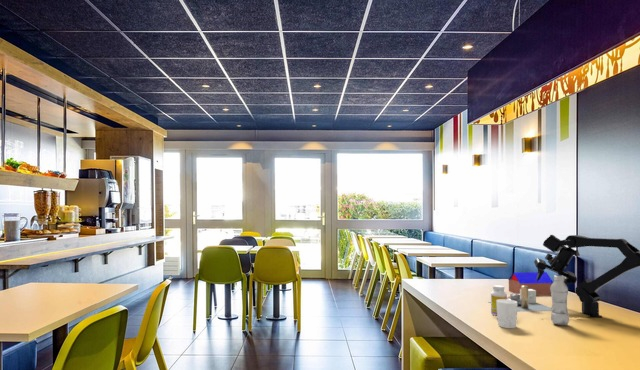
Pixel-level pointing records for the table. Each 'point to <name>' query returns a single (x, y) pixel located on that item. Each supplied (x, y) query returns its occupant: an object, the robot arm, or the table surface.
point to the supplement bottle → (497, 297)
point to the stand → (532, 303)
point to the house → (530, 282)
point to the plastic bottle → (559, 301)
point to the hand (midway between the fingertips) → (546, 284)
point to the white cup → (506, 313)
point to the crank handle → (524, 297)
